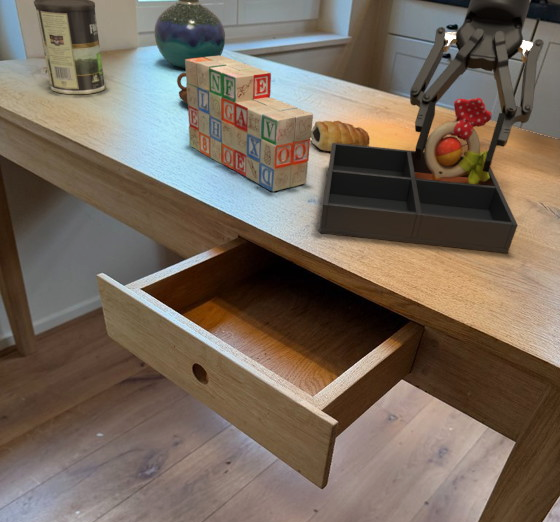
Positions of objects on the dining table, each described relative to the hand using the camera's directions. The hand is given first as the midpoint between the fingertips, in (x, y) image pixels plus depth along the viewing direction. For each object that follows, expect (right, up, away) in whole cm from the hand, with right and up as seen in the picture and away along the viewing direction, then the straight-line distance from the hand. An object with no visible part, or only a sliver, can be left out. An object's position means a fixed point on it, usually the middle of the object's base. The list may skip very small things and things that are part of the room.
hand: (452, 160), depth 73 cm
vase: (-42, +42, +55) cm, 81 cm away
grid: (-5, -5, +2) cm, 8 cm away
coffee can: (-61, +28, +36) cm, 76 cm away
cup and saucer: (-35, +22, +32) cm, 53 cm away
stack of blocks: (-27, +3, +10) cm, 30 cm away
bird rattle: (+2, -1, +5) cm, 5 cm away
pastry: (-13, +9, +19) cm, 25 cm away
